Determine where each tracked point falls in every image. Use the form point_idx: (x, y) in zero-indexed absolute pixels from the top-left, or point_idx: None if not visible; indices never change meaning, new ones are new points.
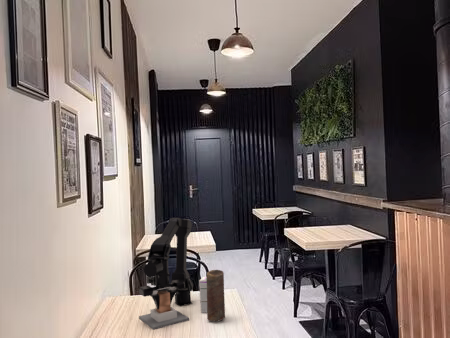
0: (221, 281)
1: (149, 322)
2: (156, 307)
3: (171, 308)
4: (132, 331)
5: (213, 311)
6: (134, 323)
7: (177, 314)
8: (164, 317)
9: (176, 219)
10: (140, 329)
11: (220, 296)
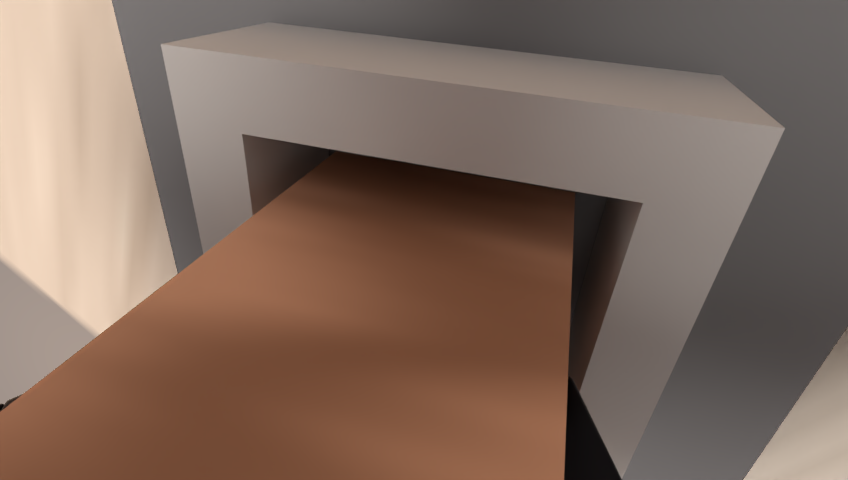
0: None
1: (195, 255)
2: (257, 217)
3: (607, 396)
4: (32, 245)
5: None
6: (35, 9)
7: (718, 331)
8: None
9: None
10: (109, 265)
11: None
